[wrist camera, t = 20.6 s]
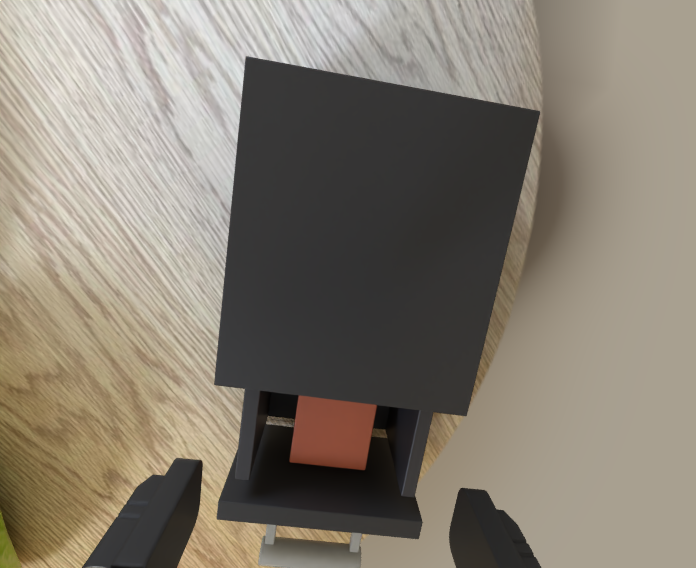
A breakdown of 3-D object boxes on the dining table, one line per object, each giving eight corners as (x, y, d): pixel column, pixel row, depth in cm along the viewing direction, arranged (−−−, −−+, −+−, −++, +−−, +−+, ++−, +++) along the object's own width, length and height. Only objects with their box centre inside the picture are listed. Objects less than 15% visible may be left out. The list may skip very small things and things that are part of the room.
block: (370, 368, 27) (378, 401, 23) (359, 427, 28) (365, 470, 24) (304, 359, 27) (298, 392, 22) (295, 420, 28) (288, 462, 23)
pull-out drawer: (383, 515, 31) (400, 618, 24) (238, 500, 30) (207, 602, 23) (431, 281, 27) (471, 314, 20) (267, 257, 26) (241, 281, 19)
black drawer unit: (423, 346, 29) (467, 416, 20) (252, 323, 28) (213, 385, 19) (465, 142, 26) (541, 110, 17) (276, 108, 25) (245, 55, 16)
